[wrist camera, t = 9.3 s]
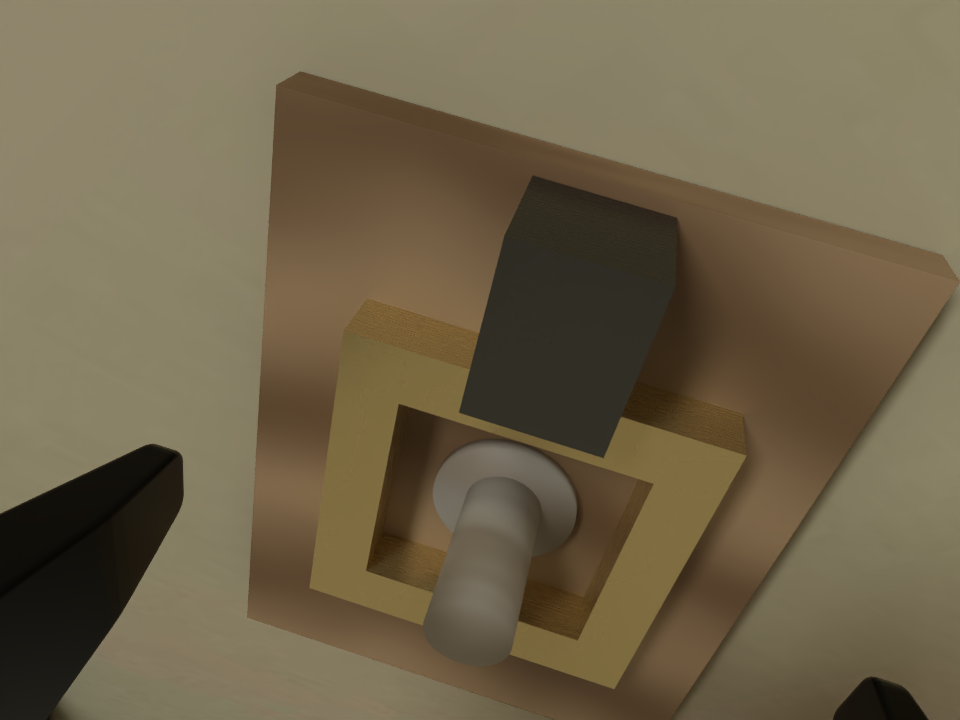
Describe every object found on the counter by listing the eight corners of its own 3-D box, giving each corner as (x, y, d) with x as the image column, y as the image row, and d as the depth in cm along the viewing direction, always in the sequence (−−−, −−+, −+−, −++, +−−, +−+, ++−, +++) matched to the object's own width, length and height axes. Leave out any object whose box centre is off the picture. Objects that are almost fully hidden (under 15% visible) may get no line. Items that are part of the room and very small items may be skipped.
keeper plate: (650, 717, 26) (643, 904, 21) (263, 589, 27) (175, 742, 22) (942, 255, 16) (1051, 422, 11) (300, 71, 17) (152, 155, 12)
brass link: (617, 644, 23) (610, 739, 20) (329, 549, 23) (287, 631, 21) (824, 260, 15) (852, 338, 13) (391, 133, 16) (337, 185, 13)
